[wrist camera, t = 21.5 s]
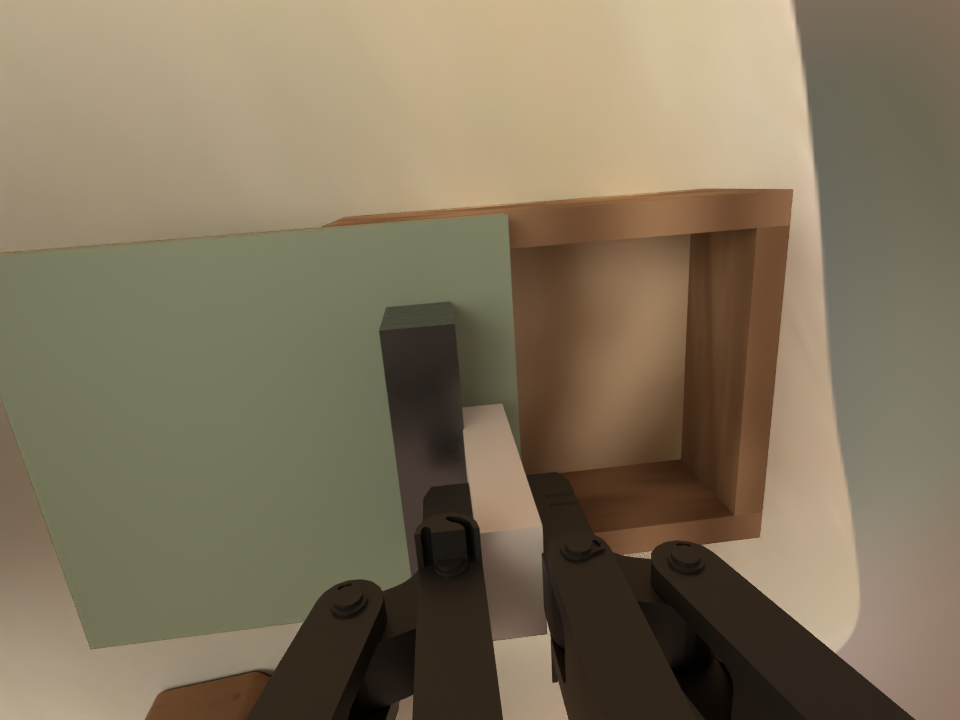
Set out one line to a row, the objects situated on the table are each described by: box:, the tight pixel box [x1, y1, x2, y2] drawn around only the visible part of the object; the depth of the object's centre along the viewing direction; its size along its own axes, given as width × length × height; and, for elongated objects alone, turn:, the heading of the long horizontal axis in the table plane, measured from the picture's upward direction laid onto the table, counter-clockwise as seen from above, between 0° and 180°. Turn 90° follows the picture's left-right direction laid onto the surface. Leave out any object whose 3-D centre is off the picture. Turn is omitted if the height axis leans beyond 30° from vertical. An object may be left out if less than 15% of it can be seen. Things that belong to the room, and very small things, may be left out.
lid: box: [0, 213, 521, 649], centre depth 18 cm, size 16×14×4 cm
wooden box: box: [322, 189, 793, 555], centre depth 24 cm, size 16×14×6 cm
